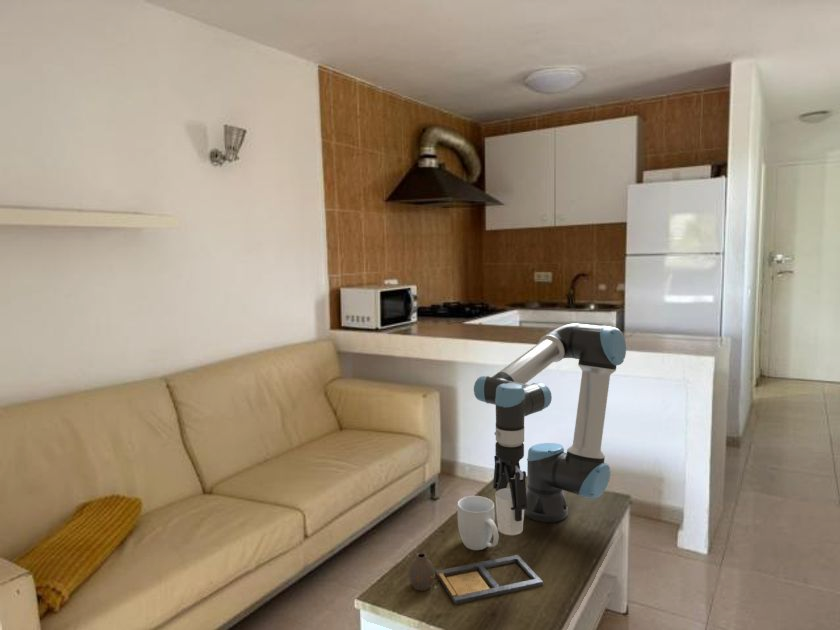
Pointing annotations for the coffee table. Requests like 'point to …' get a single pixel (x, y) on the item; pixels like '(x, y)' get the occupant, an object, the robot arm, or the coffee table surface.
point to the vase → (421, 572)
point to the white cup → (505, 511)
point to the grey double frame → (475, 586)
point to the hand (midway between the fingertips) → (509, 523)
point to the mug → (477, 522)
